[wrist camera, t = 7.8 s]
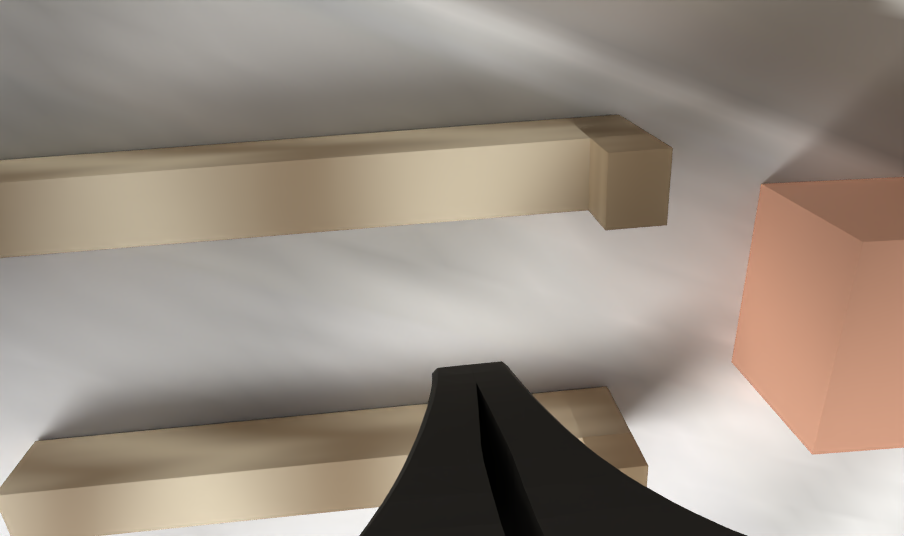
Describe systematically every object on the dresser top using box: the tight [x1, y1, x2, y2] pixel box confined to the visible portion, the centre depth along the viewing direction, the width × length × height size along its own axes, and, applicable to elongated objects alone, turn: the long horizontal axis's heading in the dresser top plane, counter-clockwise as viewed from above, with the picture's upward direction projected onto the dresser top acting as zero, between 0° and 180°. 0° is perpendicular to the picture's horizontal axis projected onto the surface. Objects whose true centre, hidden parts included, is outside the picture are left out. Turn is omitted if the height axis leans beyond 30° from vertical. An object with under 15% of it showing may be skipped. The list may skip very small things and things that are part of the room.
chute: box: [0, 115, 673, 536], centre depth 15 cm, size 15×9×3 cm, turn 93°
